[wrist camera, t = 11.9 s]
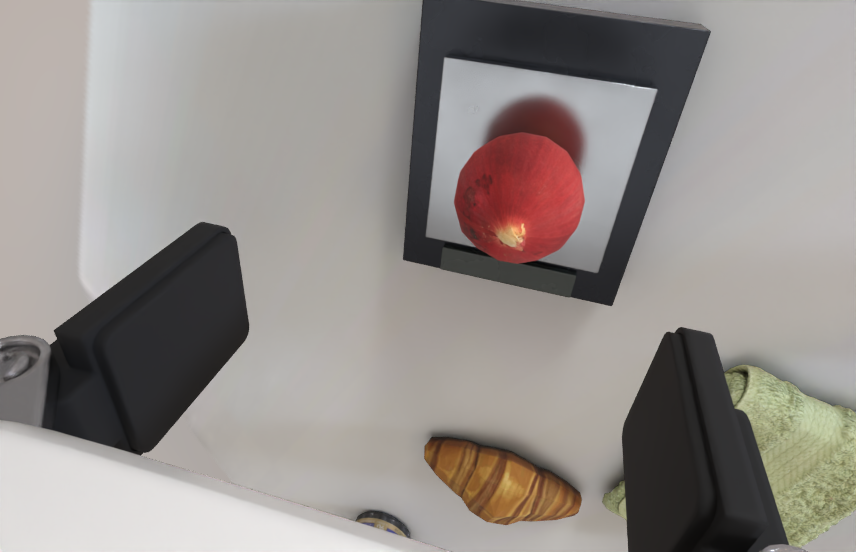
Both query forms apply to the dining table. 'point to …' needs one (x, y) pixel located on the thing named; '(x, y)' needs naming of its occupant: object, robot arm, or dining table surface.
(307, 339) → the dining table surface
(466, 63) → the scale pan
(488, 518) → the croissant
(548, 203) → the onion
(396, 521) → the pill bottle
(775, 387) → the washcloth
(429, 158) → the scale
